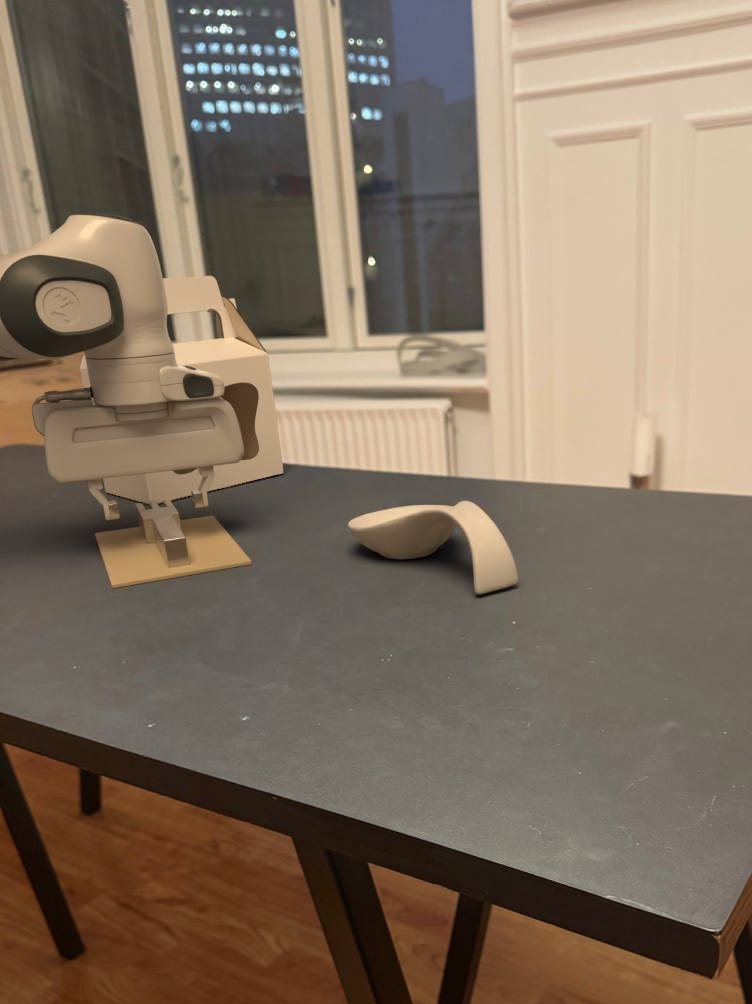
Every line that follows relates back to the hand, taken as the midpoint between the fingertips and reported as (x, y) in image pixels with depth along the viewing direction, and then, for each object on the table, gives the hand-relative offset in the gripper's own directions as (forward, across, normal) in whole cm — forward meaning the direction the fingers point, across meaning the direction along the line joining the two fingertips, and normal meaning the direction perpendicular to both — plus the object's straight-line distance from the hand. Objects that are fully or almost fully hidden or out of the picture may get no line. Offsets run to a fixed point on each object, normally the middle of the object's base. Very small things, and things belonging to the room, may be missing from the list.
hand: (157, 512), depth 102 cm
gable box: (+4, +9, +33) cm, 34 cm away
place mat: (+4, 0, 0) cm, 4 cm away
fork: (+4, +1, +1) cm, 4 cm away
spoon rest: (+4, +24, -22) cm, 33 cm away
